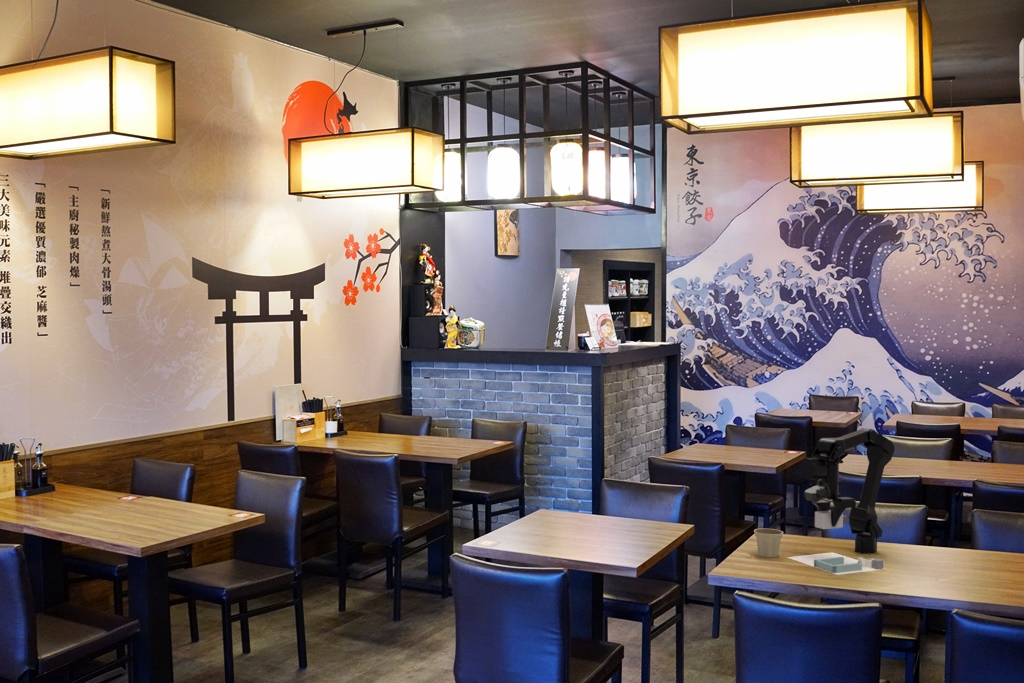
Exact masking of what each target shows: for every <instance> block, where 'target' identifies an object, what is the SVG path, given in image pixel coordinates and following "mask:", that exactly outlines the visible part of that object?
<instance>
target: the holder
mask: <svg viewBox="0 0 1024 683" xmlns="http://www.w3.org/2000/svg"><path fill="white" fill-rule="evenodd" d="M837 564H843V565H837ZM834 565H835V566H834ZM814 566H815V567H814V568H816V567H818V568H817V569H819V568H821V569H824V570H826V571H825V572H827V571H829V572H828V573H830V572H832V573H831V574H833V573H839V572H847V571H856V570H862V563H852V564H844V557H835V558H826V559H817V560H814ZM821 569H820V570H821ZM824 570H823V571H824Z"/></svg>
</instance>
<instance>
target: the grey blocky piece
mask: <svg viewBox="0 0 1024 683" xmlns="http://www.w3.org/2000/svg"><path fill="white" fill-rule="evenodd" d="M872 559H873V563H872V567H873V568H875V569H883V568H884V559H880V558H872ZM857 563H861V562H857ZM883 570H884V569H883Z"/></svg>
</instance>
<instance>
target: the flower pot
mask: <svg viewBox="0 0 1024 683" xmlns="http://www.w3.org/2000/svg"><path fill="white" fill-rule="evenodd" d="M753 532H754V535H755V538H756V547H757V554H758V556H759V557H763V558H778V557H779V553H780V552H779V551H780V545H781V539H782V538H783V534H784V531H782V530H779V529H775V528H755V529H754V530H753Z"/></svg>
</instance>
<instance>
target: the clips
mask: <svg viewBox="0 0 1024 683" xmlns="http://www.w3.org/2000/svg"><path fill="white" fill-rule="evenodd" d="M873 559H874V558H869V559H865V558H864V557H857V560H858V562H861V563H862V567H870V568H872V563H873Z"/></svg>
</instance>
